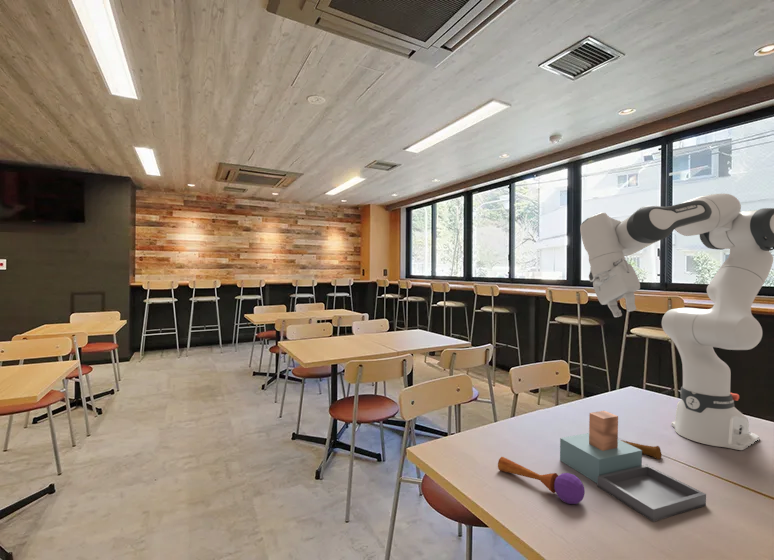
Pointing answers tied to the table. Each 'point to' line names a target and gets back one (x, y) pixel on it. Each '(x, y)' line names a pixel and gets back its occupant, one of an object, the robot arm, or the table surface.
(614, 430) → the terracotta block
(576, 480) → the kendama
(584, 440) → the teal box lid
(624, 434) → the table surface
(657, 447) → the primitive tool
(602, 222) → the robot arm
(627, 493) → the box
